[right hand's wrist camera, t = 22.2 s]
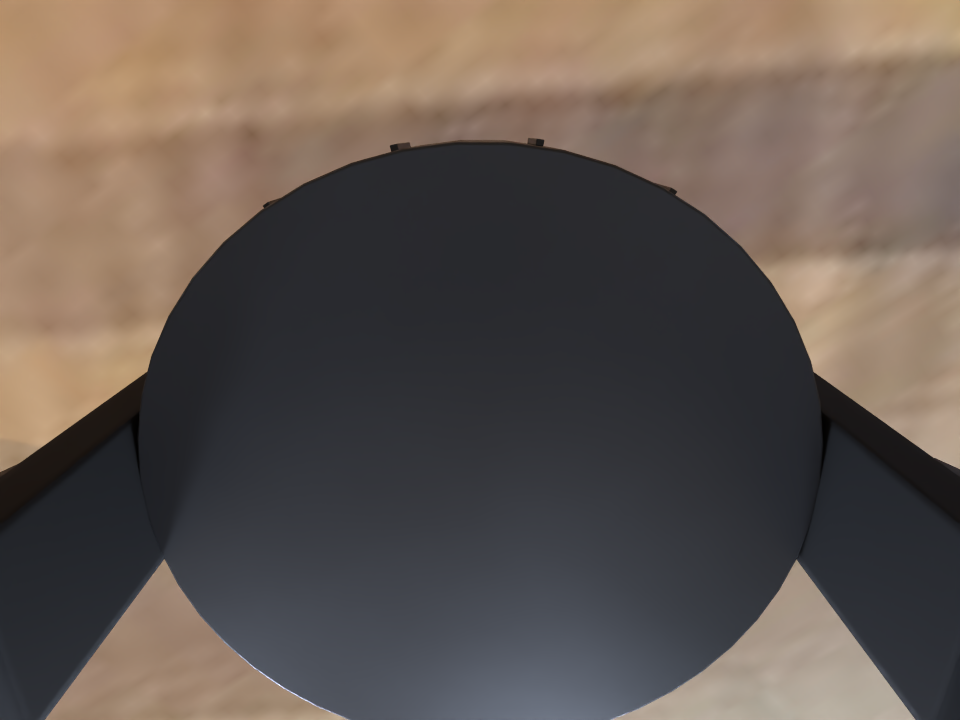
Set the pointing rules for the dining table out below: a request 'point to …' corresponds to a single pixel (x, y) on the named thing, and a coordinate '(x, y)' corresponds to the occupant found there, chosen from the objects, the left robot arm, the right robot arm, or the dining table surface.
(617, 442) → the lid
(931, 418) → the dining table surface
